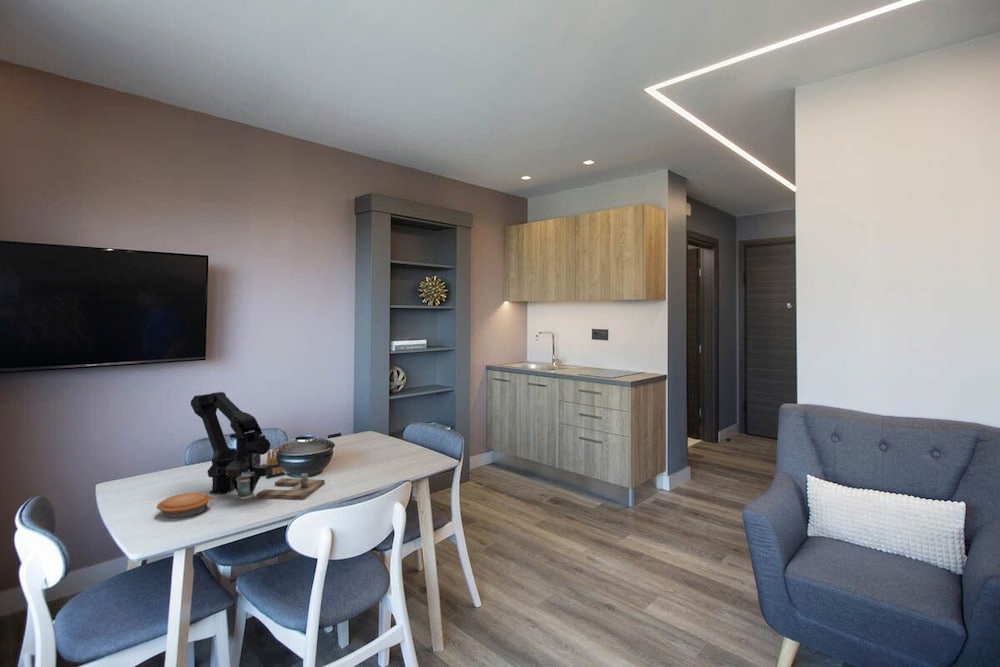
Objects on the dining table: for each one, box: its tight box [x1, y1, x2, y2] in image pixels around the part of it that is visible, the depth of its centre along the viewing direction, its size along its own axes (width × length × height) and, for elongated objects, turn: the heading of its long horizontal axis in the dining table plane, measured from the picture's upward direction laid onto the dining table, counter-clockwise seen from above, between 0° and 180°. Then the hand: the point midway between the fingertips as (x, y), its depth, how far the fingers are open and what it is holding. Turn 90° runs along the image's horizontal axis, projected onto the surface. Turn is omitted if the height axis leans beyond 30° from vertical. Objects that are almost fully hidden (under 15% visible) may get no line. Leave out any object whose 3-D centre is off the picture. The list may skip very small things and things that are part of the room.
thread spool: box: [235, 474, 255, 500], centre depth 182 cm, size 6×6×7 cm
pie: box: [156, 492, 212, 519], centre depth 167 cm, size 15×16×5 cm
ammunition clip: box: [265, 445, 292, 479], centre depth 207 cm, size 11×2×12 cm, turn 136°
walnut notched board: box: [255, 472, 326, 501], centre depth 189 cm, size 18×18×6 cm
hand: (245, 492), depth 182 cm, fingers closed on thread spool, 5 cm apart
